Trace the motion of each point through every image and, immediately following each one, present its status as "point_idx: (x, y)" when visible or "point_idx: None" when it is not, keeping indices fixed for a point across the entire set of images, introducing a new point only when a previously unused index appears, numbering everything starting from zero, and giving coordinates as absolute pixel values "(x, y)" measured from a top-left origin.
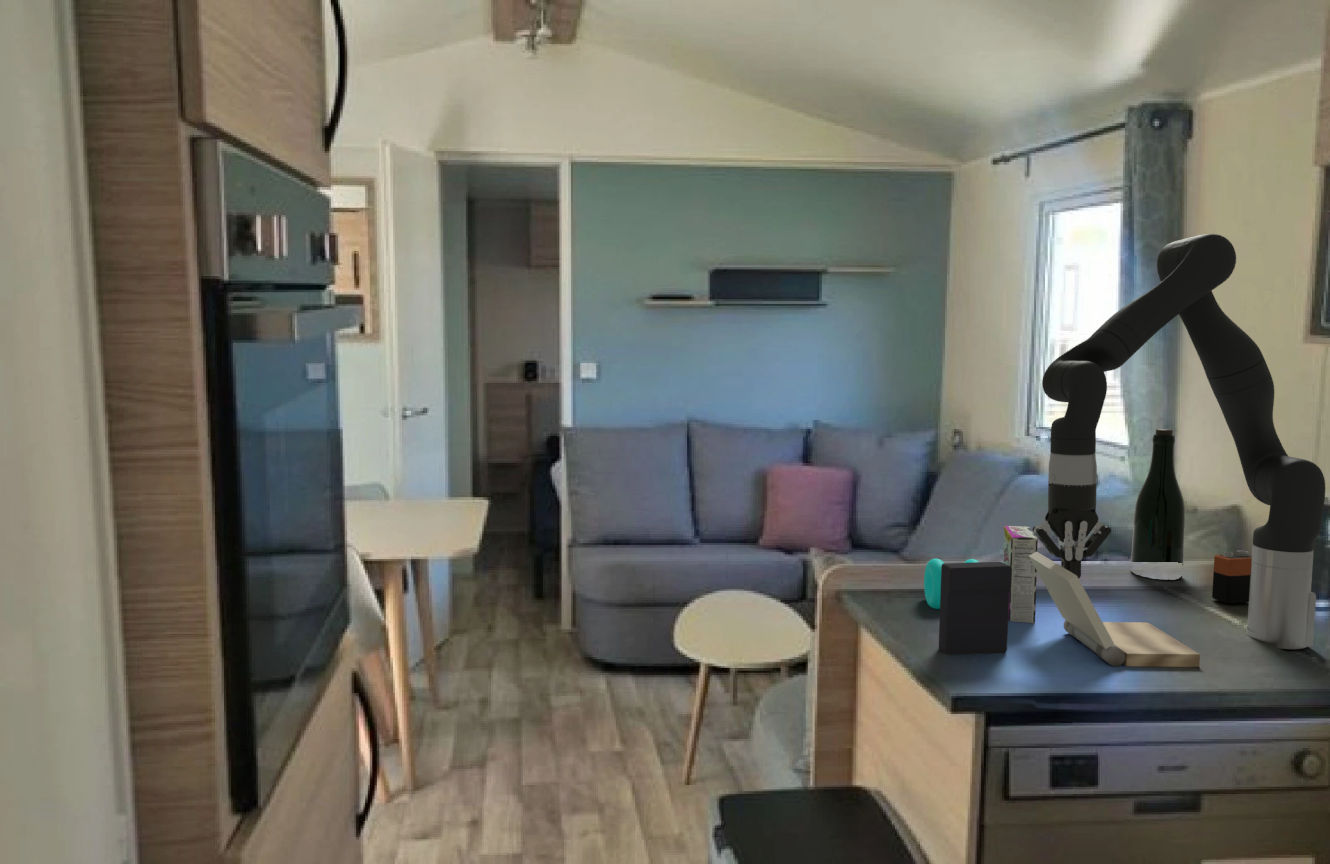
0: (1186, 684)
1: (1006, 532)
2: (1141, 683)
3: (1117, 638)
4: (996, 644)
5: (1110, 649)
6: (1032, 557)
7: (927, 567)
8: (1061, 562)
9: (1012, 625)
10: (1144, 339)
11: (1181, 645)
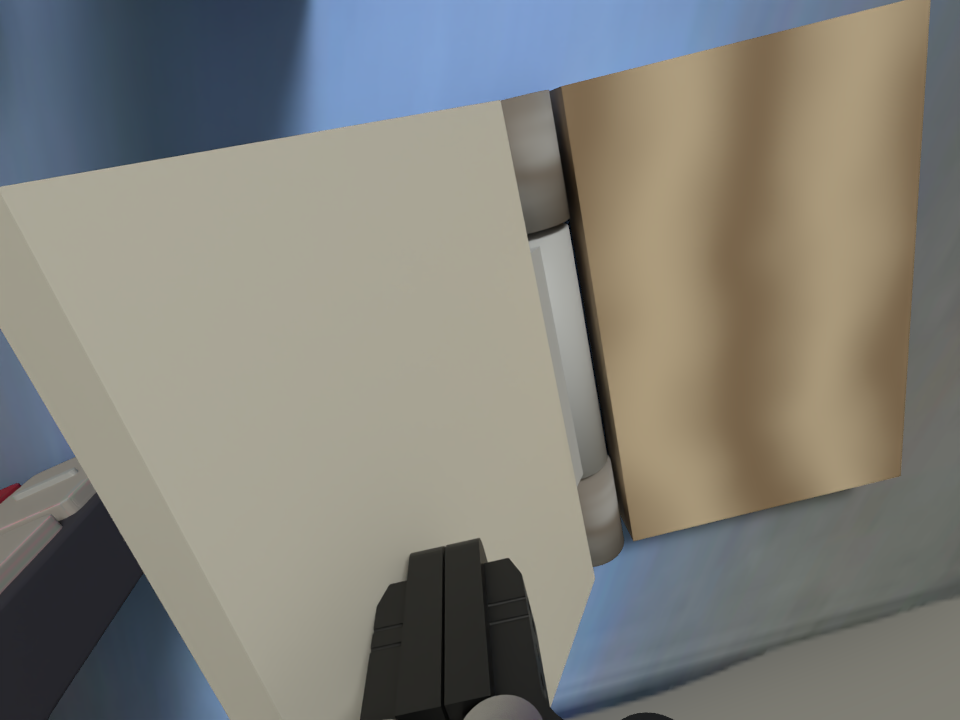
0: (742, 613)
1: None
2: (614, 640)
3: (658, 356)
4: None
5: None
6: (12, 337)
7: None
8: (364, 712)
9: (187, 18)
10: None
11: (888, 385)
